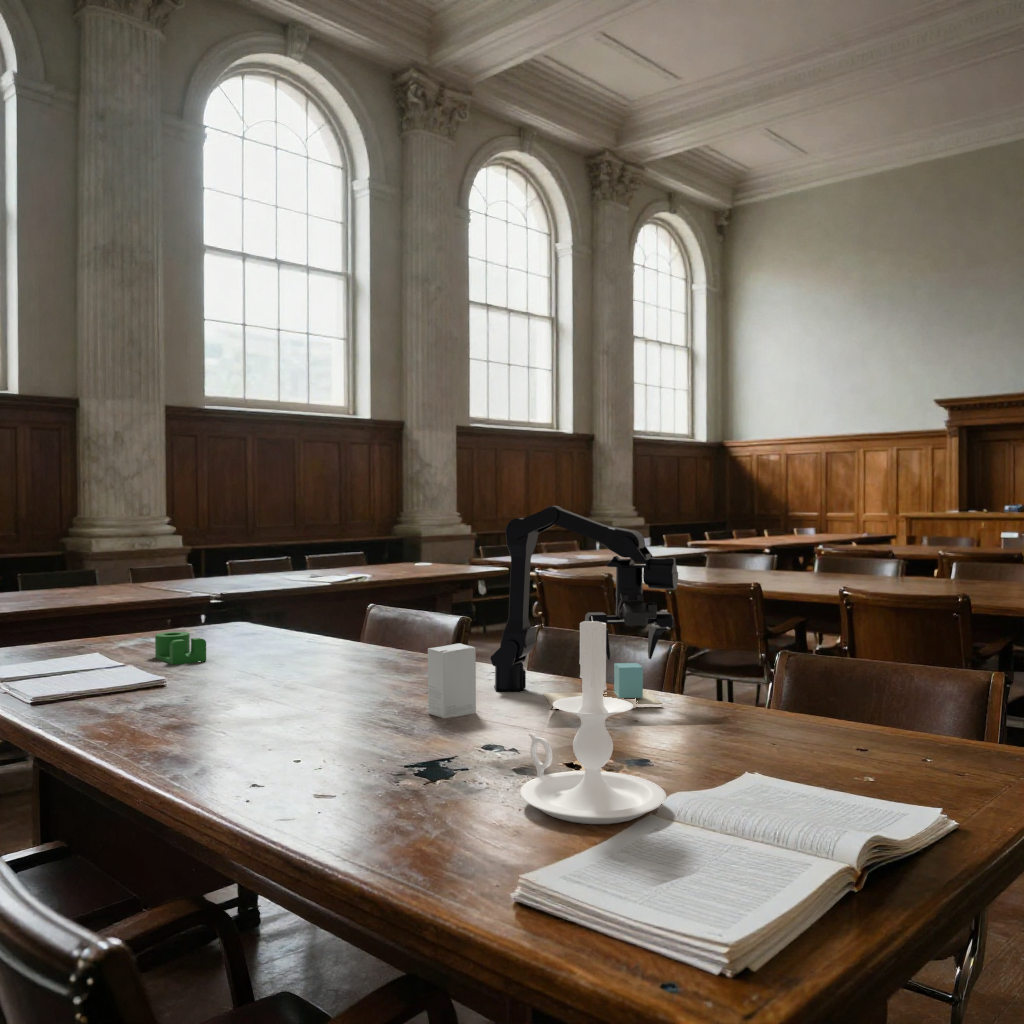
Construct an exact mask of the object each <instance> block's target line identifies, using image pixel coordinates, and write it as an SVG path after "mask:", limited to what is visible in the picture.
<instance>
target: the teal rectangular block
mask: <svg viewBox="0 0 1024 1024" xmlns="http://www.w3.org/2000/svg"><path fill="white" fill-rule="evenodd" d="M613 665H614V669H613V671H614V673H613V677H614V678H613V683H614V684H613V686H614V687H613V692H614V693H615V694H616V695H617V697H618V698H643V691H644V668H643V666H642V665H641V664H640V663H638V662H623V663H622V662H617V663H614V664H613Z"/></svg>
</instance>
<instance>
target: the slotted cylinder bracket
mask: <svg viewBox="0 0 1024 1024" xmlns="http://www.w3.org/2000/svg"><path fill="white" fill-rule="evenodd" d="M154 637H155V638H154V639H155V641H154V642H155V643H154V645H155V646H154V647H155V650H154V654H155V659H157V660H159V661H162V662H164V663H166V664H170V665H174V666H175V665H185V664H184V663H188V664H192V663H191V662H198V661H206V662H207V641H206V639H204V638H201V637H193V638H190V637H191V635H190V632H186V631H167V632H160V633H159V632H158V633H157V634H155V635H154Z"/></svg>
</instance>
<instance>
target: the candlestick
mask: <svg viewBox="0 0 1024 1024" xmlns="http://www.w3.org/2000/svg"><path fill="white" fill-rule="evenodd" d="M591 619H592V616H591ZM606 628H607V625H606V623H602V622H598V621H593V619H592V621H585V620H584V621H581V622H580V623H579V661H578V662H579V665H580V666H579V667H580V669H579V670H580V673H579V678H580V679H581V683H582V684H581V687H582V689H581V690H582V692H581V693H582V696H577V697H568V698H563V699H559V700H557V701H555V702H554V703H553V706H554V707H555V708H557V709H559V710H558V711H563V712H566V713H570V714H573V715H575V716H577V717H578V718H579V719H580V725H579V729H577V732H576V733H575V735H574V738H573V741H572V751H573V754H574V756H575V758H576V759H577V761H578V763H579V764H580V765H581V766H582V767H583V768H584V770H573V771H572V770H571V771H562V772H561V771H560V772H554V773H548V774H545V773H544V771H545V769H547V768H549V767H550V766H551V765H552V762H553V750H552V746H551V744H550V742H549V741H548V740H547V739H546V738H544V737H540V736H539V735H537V734H536V733H534V732H533V733H528V736H529V737H530V739H531V744H530V756H531V757H530V758H531V759H532V762H533V764H534V766H535V768H536V774H537V777H535V778H533V779H531V780H528V781H527V782H525V783H524V784H523V785H522V786H521V788H520V790H519V794H520V797H521V799H522V800H523V801H524V802H526V803H527V804H528V805H530V806H532V807H534V808H536V809H538V810H540V811H541V812H542V813H545V814H546V815H549V816H551V817H553V818H556V819H559V820H561V821H566V822H571V823H578V824H584V825H588V824H589V825H612V824H620V823H623V822H624V823H625V822H629V821H632V820H635V819H637V818H640V817H642V816H644V815H645V814H647V813H648V812H652V811H654V810H657V809H658V808H660V807H661V806H662V805H663V804H662V802H663V801H664V800H665V799H666V800H667V797H668V796H667V792H666V791H665V790H664V789H663V788H662V787H661V786H660V785H658V784H656V783H654V782H653V781H650V780H648V779H645V778H643V777H638V776H635V775H630V774H627V773H622V772H621V773H620V772H612V771H603V770H602V768H603V767H604V766H605V765H606V764H607V763H608V762H609V760H610V759H611V757H612V755H613V752H614V743H613V739H612V737H611V734H610V733H609V730H608V729H607V727H606V720H607V718H608V717H611V716H614V715H616V714H617V715H618V714H621V713H627V712H629V711H631V710H633V709H634V708H633V707H634V705H633V704H632V703H631V702H629V701H626V700H622V699H618V698H612V697H603V692H605V691H606V690H607V687H608V686H607V657H606ZM539 744H541V745H542V747H543V748H544V750H545V755H546V756H545V757H546V758H545V761H544V762H542V761H541V760H540V759H539V756H538V753H537V747H538V745H539ZM661 804H662V805H661ZM660 805H661V806H660Z"/></svg>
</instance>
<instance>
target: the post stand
mask: <svg viewBox="0 0 1024 1024" xmlns="http://www.w3.org/2000/svg"><path fill="white" fill-rule="evenodd" d="M643 691H644V690H643ZM604 692H605V693H604ZM607 692H608V691H603V694H607ZM648 692H650V691H648V690H647V691H644V692H643V698H636V702H637V701H638V702H637V703H638V704H662V705H663V703H662V701H660V700H659V699H658V698H657V697H656V696H654V695H653V694H652V693H651V694H649V693H648ZM543 694H544V696H545V697H544V696H543V697H544V698H545V700H546V699H547V700H546V702H548V704H549V705H550V707H552V706H553V703H554V702H555V701H557V700H559V699H563V698H568V697H577V696H582V692H543V693H542V695H543ZM604 696H607V695H604ZM604 696H603V697H604ZM624 699H635V698H624ZM637 703H636V704H637ZM632 704H633V703H632Z"/></svg>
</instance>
